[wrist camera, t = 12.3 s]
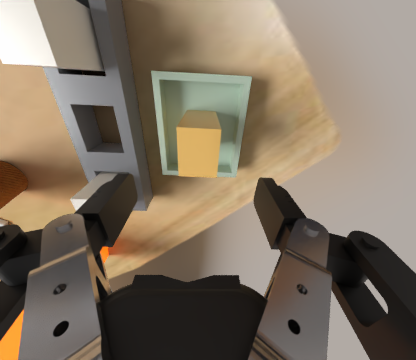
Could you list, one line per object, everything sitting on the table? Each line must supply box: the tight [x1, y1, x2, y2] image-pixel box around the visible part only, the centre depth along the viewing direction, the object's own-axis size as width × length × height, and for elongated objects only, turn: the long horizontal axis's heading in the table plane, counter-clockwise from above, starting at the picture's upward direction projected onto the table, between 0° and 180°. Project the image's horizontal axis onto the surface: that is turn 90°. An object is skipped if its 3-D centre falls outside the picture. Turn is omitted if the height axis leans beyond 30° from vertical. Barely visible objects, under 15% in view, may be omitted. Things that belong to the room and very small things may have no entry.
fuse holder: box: [43, 0, 153, 211], centre depth 23 cm, size 27×8×4 cm, turn 177°
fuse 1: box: [0, 0, 105, 72], centre depth 15 cm, size 5×4×10 cm
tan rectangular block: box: [176, 110, 222, 178], centre depth 20 cm, size 5×4×10 cm
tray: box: [151, 71, 252, 177], centre depth 23 cm, size 14×12×3 cm
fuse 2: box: [70, 171, 129, 211], centre depth 25 cm, size 5×4×10 cm
